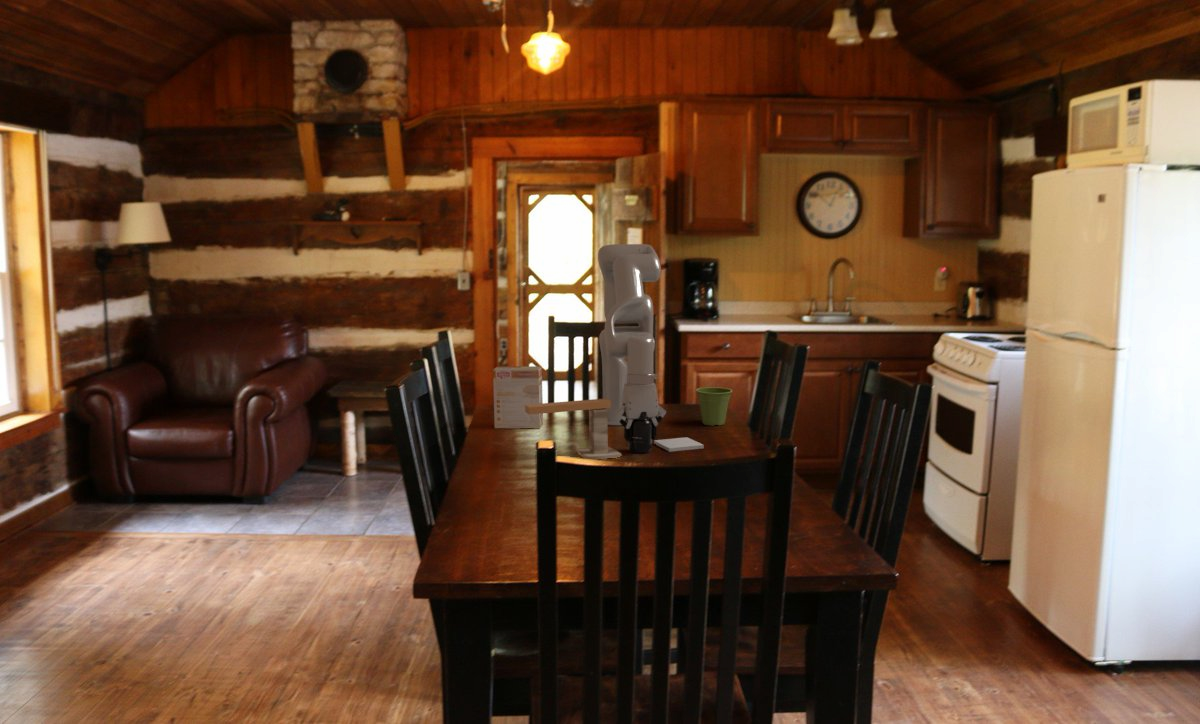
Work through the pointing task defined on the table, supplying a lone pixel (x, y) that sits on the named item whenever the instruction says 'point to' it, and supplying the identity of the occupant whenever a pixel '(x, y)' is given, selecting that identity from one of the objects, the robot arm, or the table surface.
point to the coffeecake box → (517, 396)
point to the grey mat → (678, 444)
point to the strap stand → (598, 437)
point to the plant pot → (713, 404)
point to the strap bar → (567, 406)
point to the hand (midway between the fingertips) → (640, 439)
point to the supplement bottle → (641, 434)
